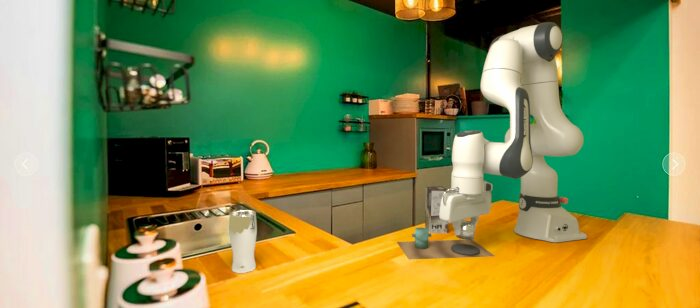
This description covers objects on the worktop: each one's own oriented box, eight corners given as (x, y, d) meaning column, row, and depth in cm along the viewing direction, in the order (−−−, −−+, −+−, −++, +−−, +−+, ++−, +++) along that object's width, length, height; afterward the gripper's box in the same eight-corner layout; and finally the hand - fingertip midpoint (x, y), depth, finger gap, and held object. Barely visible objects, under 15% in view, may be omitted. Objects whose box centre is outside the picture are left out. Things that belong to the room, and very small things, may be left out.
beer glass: (242, 276, 81) (240, 217, 80) (224, 270, 85) (222, 213, 84) (263, 266, 87) (262, 211, 86) (245, 261, 91) (244, 208, 90)
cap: (477, 237, 95) (478, 221, 95) (467, 240, 92) (467, 224, 92) (462, 233, 99) (463, 217, 99) (452, 236, 96) (453, 220, 96)
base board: (471, 243, 106) (472, 223, 105) (495, 260, 92) (495, 237, 91) (396, 245, 103) (396, 225, 103) (408, 263, 89) (409, 240, 89)
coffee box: (448, 236, 112) (449, 190, 111) (430, 236, 113) (431, 190, 111) (441, 228, 121) (442, 185, 120) (424, 228, 122) (425, 185, 120)
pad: (471, 245, 101) (471, 243, 100) (484, 255, 93) (485, 253, 93) (446, 246, 100) (446, 244, 100) (458, 256, 92) (458, 254, 92)
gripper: (453, 191, 86) (451, 242, 87) (496, 184, 98) (494, 229, 99) (434, 187, 91) (433, 235, 92) (477, 181, 103) (475, 224, 104)
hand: (465, 232), depth 96 cm, fingers closed on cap, 5 cm apart
